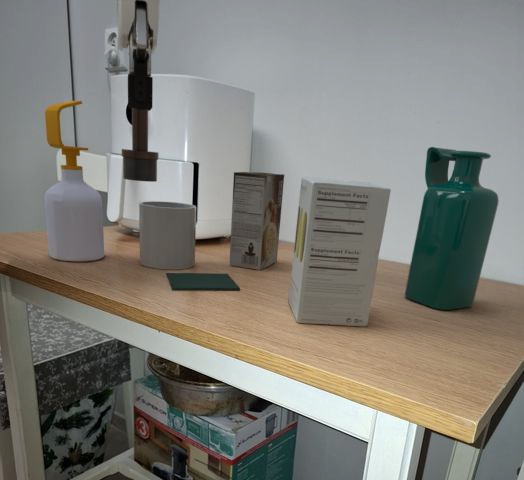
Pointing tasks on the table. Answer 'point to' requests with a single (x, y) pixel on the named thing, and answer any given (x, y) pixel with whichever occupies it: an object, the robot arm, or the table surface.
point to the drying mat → (201, 281)
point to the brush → (140, 151)
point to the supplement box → (336, 250)
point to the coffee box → (255, 219)
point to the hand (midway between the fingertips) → (140, 108)
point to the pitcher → (451, 231)
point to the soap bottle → (71, 202)
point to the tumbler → (167, 234)
